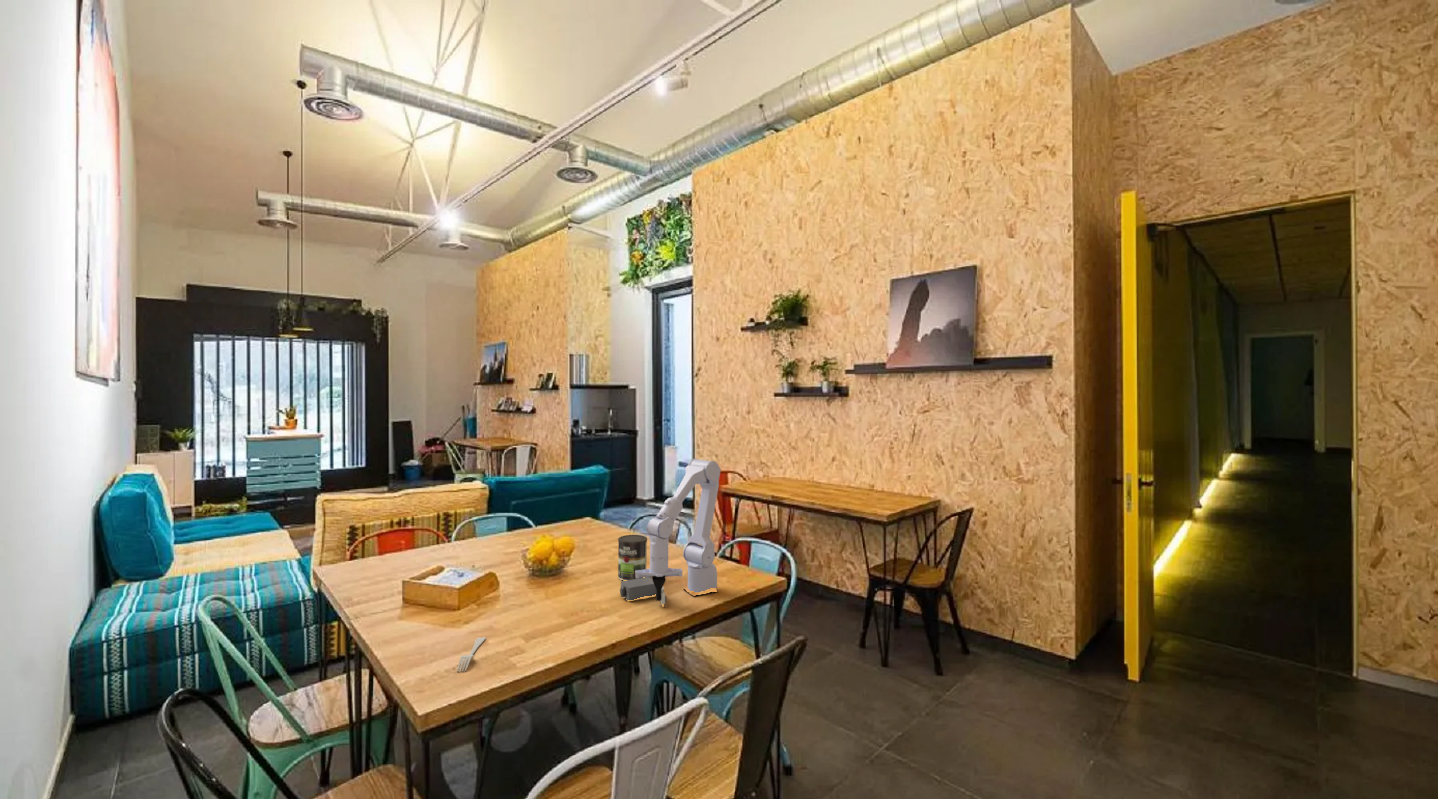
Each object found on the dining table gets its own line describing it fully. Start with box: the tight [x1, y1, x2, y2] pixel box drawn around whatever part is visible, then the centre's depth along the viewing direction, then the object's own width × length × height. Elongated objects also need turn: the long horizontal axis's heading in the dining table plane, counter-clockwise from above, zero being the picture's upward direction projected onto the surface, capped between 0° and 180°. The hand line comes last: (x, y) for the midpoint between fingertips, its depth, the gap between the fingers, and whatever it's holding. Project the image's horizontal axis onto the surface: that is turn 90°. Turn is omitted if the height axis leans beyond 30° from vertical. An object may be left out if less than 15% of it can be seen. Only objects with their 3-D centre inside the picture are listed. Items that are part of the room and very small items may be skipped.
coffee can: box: [617, 534, 648, 581], centre depth 212 cm, size 10×10×14 cm
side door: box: [660, 586, 668, 605], centre depth 188 cm, size 10×2×4 cm, turn 12°
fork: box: [456, 636, 487, 672], centre depth 151 cm, size 3×21×3 cm, turn 8°
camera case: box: [619, 577, 656, 601], centre depth 193 cm, size 11×7×4 cm, turn 120°
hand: (658, 599), depth 185 cm, fingers closed
